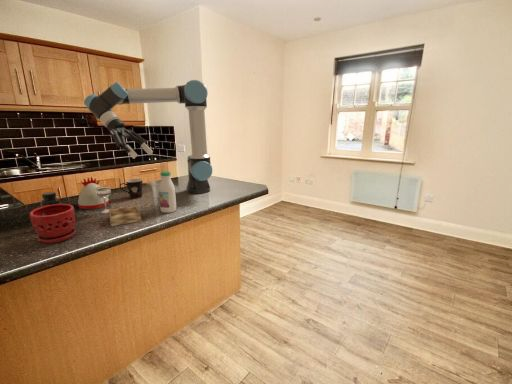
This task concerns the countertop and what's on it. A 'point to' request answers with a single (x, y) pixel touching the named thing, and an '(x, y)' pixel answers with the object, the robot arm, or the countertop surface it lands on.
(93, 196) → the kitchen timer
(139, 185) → the coffee mug
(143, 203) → the countertop surface
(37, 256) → the countertop surface
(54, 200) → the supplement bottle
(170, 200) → the milk bottle
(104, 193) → the wineglass
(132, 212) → the wooden tray
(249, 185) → the countertop surface
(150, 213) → the countertop surface
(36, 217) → the plant pot
